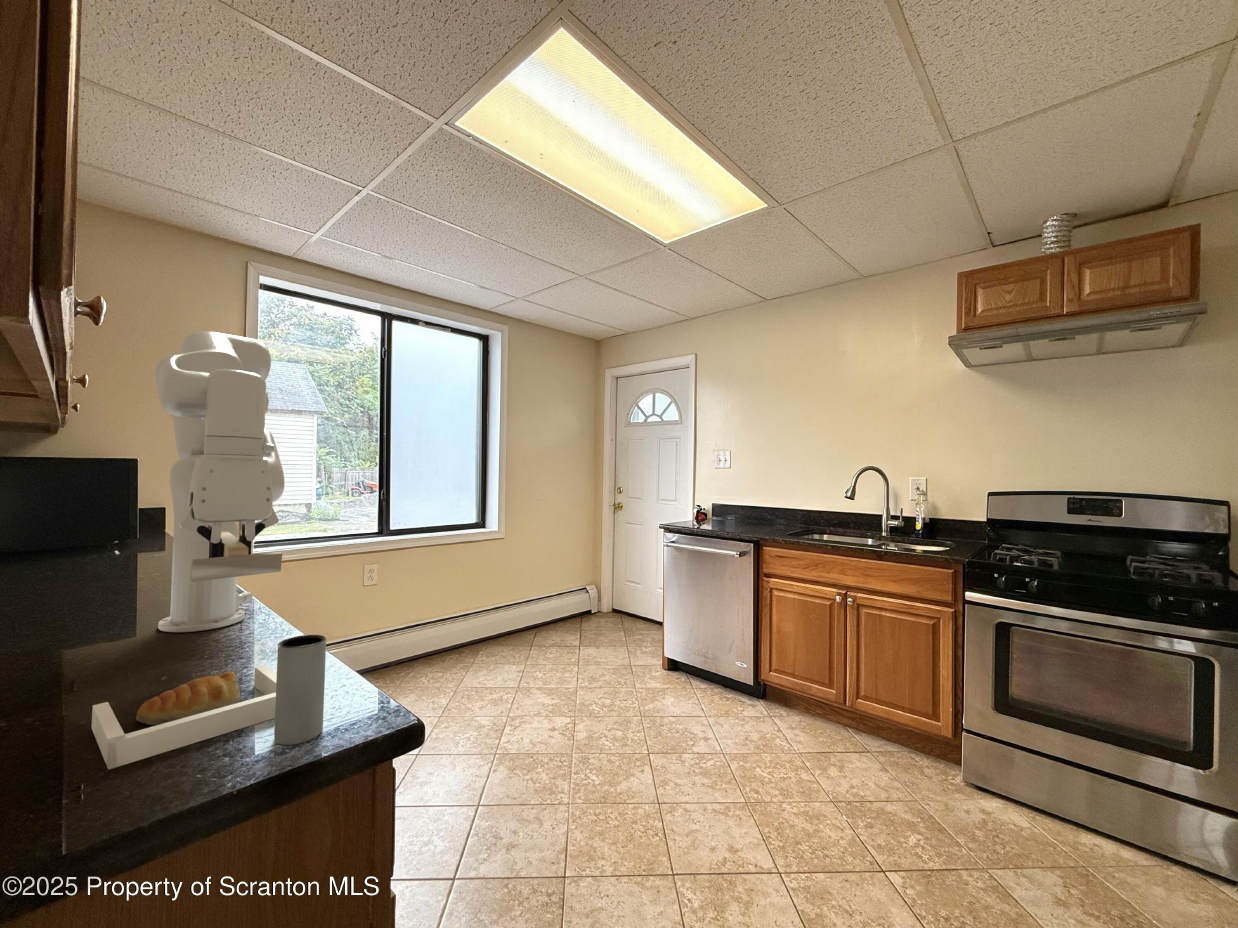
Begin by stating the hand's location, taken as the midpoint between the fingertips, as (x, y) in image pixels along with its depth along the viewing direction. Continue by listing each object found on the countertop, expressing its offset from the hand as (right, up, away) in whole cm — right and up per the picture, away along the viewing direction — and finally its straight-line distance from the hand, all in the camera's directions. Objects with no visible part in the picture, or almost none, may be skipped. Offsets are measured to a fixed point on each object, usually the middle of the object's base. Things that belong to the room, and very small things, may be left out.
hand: (229, 565), depth 79 cm
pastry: (+10, -14, -18) cm, 25 cm away
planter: (+26, -14, -24) cm, 38 cm away
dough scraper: (-1, 0, +1) cm, 2 cm away
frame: (+12, -14, -20) cm, 27 cm away
